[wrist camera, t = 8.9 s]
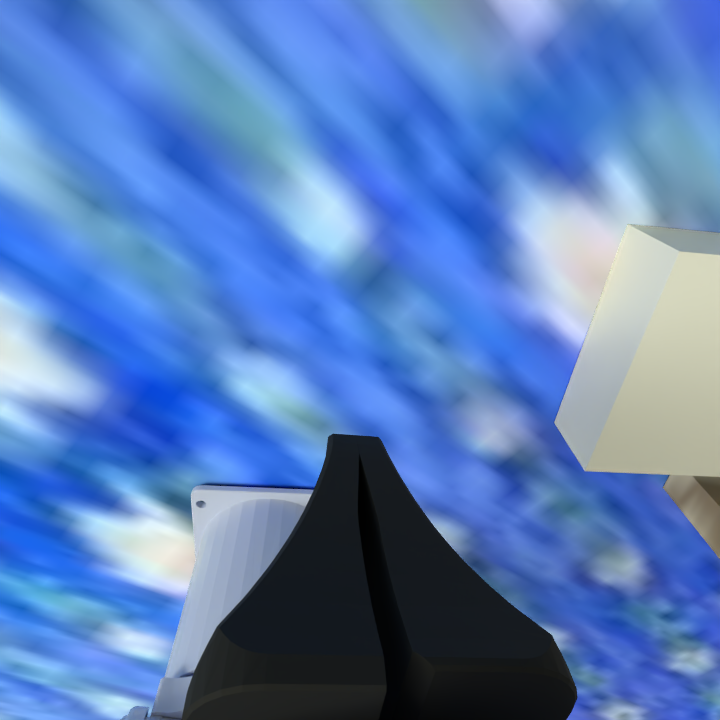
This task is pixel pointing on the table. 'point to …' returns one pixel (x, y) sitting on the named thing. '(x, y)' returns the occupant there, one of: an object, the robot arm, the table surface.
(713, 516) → the mottled beige block
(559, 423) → the cream rectangular block
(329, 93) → the table surface
